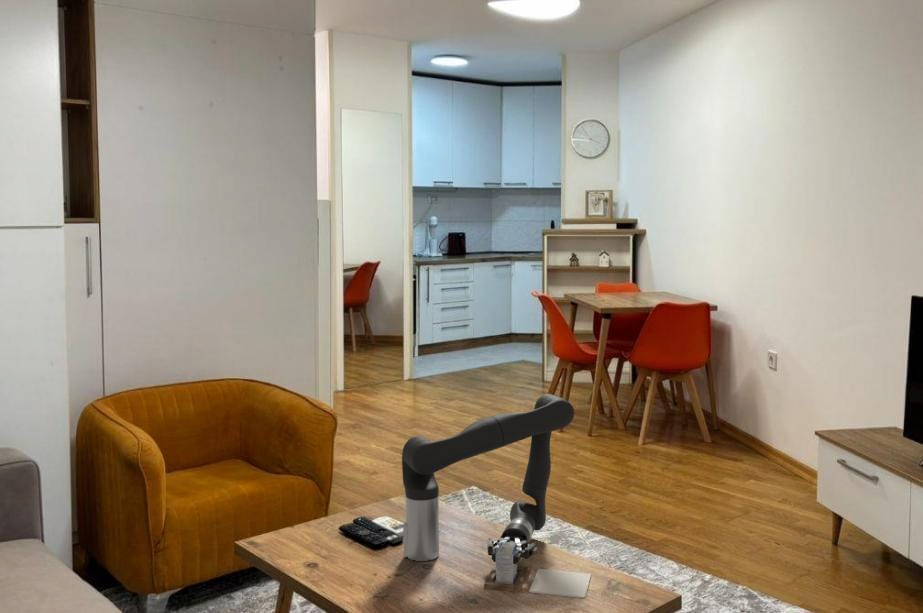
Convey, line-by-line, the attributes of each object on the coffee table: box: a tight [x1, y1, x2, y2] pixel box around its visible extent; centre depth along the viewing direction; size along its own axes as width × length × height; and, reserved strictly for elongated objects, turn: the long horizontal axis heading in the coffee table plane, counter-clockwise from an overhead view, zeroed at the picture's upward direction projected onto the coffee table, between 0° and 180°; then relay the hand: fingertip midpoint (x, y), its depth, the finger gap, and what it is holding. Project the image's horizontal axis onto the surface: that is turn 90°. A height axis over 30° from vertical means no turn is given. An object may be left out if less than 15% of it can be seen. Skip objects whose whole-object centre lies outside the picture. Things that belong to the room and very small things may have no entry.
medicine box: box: [495, 542, 518, 584], centre depth 225 cm, size 8×4×9 cm, turn 168°
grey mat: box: [528, 568, 592, 599], centre depth 223 cm, size 14×14×1 cm
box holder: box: [483, 563, 529, 593], centre depth 226 cm, size 9×13×1 cm
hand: (504, 559), depth 223 cm, fingers closed on medicine box, 4 cm apart
